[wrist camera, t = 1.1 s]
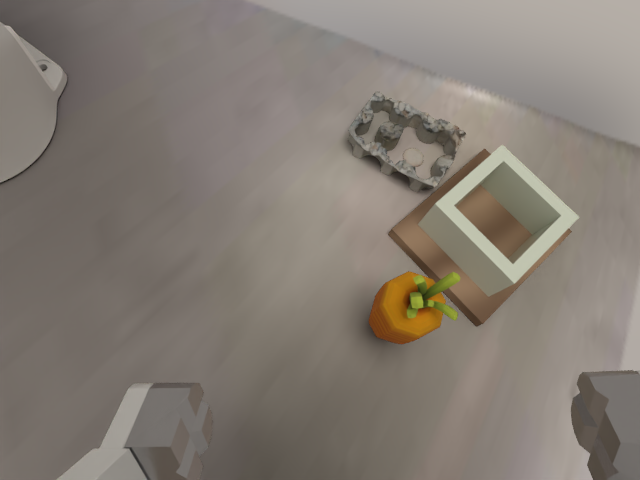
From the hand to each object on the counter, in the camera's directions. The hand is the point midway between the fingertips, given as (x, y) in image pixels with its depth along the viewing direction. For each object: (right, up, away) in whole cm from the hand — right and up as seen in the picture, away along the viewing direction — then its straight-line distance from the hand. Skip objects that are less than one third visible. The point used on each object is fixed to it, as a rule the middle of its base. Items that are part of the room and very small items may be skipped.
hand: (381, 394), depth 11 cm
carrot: (+4, -5, +34) cm, 35 cm away
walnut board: (+15, +4, +38) cm, 41 cm away
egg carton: (+7, +13, +41) cm, 44 cm away
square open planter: (+15, +4, +37) cm, 40 cm away
